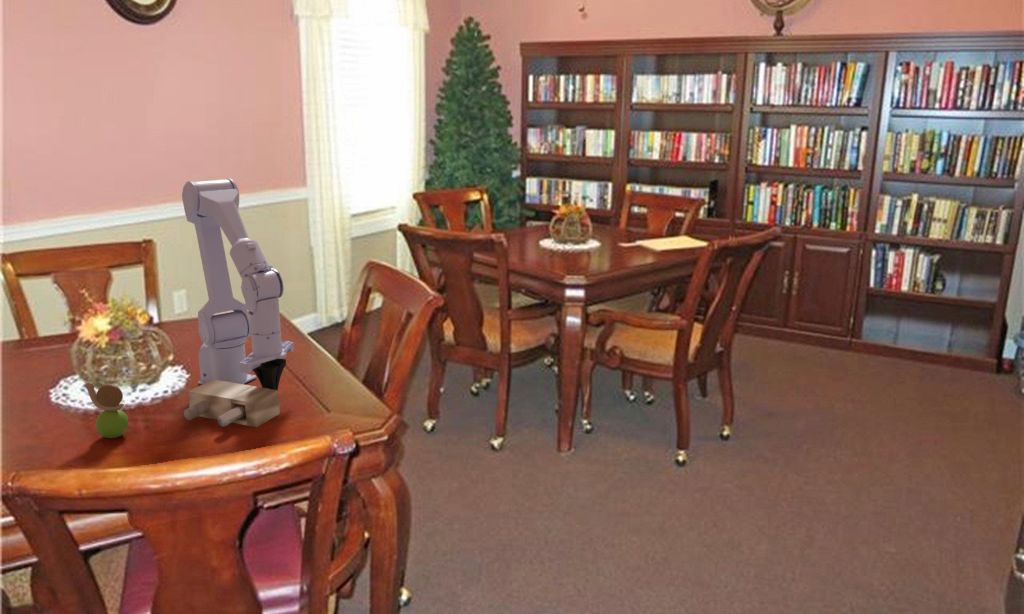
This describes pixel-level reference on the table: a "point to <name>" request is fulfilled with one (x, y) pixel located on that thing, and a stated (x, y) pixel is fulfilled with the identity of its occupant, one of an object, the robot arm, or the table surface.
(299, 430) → the table surface
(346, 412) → the table surface
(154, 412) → the table surface
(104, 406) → the snail figurine
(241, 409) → the lynch pin
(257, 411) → the beige block with pegs
